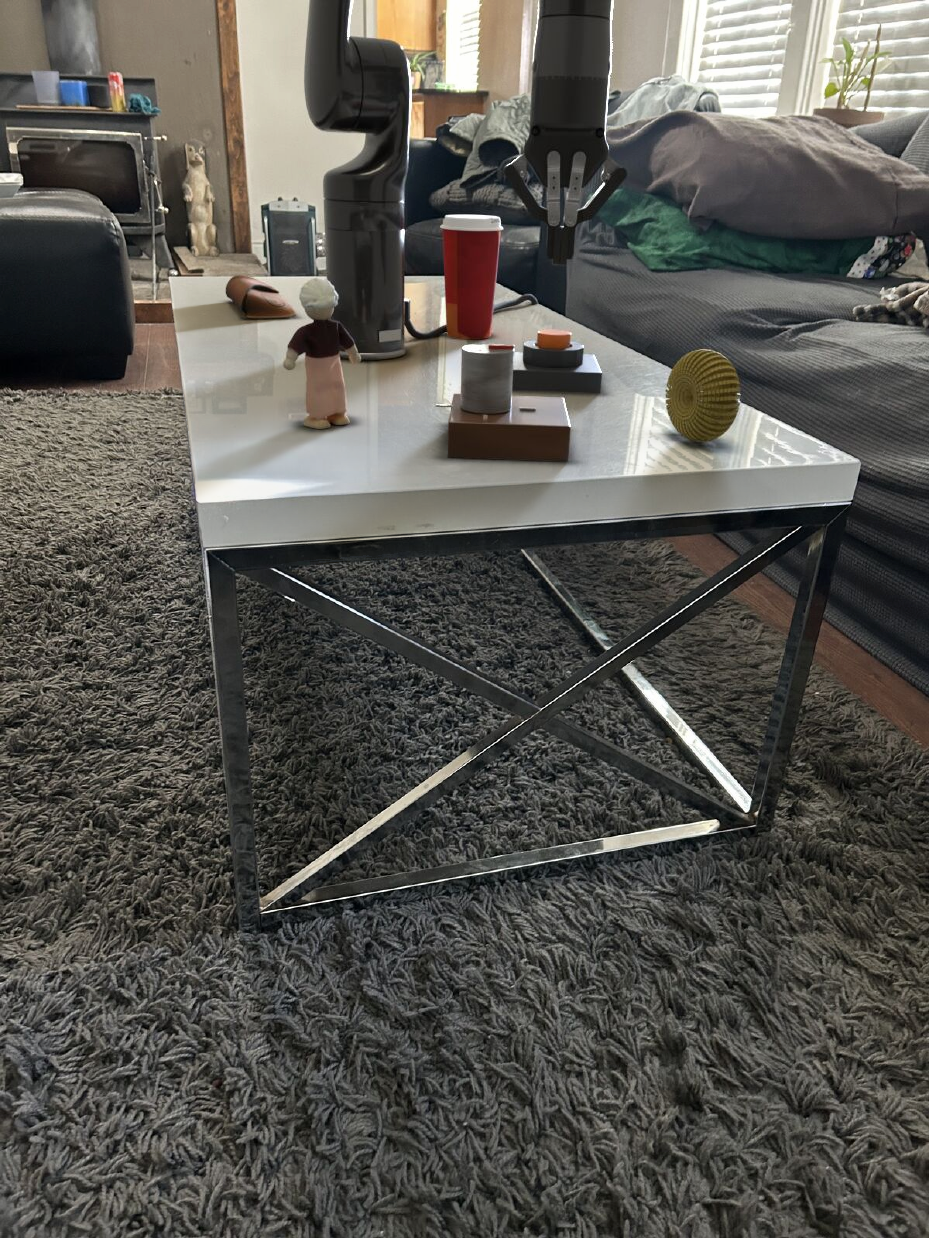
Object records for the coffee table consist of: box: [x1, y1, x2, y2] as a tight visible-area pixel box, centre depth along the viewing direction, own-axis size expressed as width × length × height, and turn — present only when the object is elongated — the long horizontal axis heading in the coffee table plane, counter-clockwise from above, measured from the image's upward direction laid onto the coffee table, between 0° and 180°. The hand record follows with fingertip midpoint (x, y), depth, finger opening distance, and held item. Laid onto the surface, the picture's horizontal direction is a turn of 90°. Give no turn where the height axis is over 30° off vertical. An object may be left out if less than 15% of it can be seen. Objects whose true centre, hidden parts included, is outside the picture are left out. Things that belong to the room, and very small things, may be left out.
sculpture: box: [664, 348, 742, 443], centre depth 84 cm, size 8×4×8 cm, turn 24°
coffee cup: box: [439, 214, 504, 340], centre depth 127 cm, size 8×8×15 cm
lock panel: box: [435, 393, 572, 462], centre depth 83 cm, size 10×11×3 cm
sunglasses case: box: [225, 274, 297, 320], centre depth 144 cm, size 18×7×7 cm
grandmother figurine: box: [282, 277, 362, 430], centre depth 85 cm, size 8×4×13 cm, turn 141°
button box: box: [512, 339, 603, 394], centre depth 105 cm, size 10×10×4 cm
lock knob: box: [460, 342, 515, 414], centre depth 81 cm, size 4×4×5 cm
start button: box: [536, 328, 572, 349], centre depth 104 cm, size 4×4×2 cm
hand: (558, 264), depth 100 cm, fingers closed
